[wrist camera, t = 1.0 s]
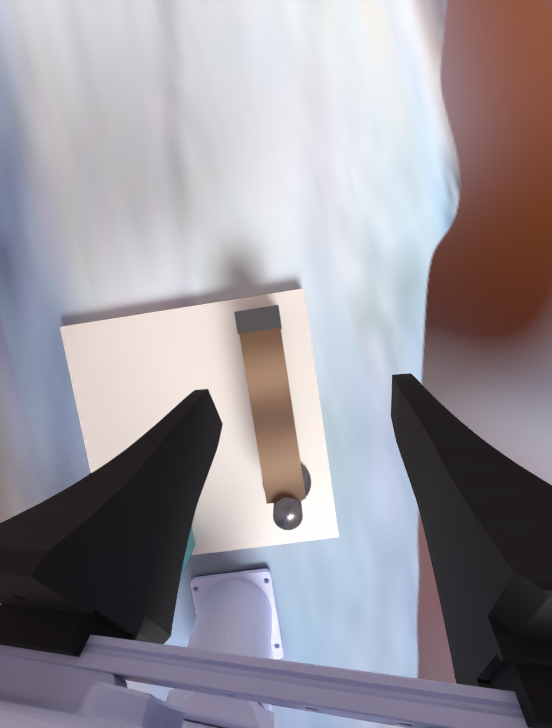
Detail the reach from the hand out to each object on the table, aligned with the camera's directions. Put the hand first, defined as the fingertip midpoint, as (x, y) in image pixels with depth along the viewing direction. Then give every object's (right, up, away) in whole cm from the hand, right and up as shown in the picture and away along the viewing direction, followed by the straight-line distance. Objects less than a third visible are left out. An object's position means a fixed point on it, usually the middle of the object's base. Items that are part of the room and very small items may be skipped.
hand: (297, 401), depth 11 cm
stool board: (-8, -5, +16) cm, 18 cm away
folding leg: (-1, -2, +14) cm, 14 cm away
